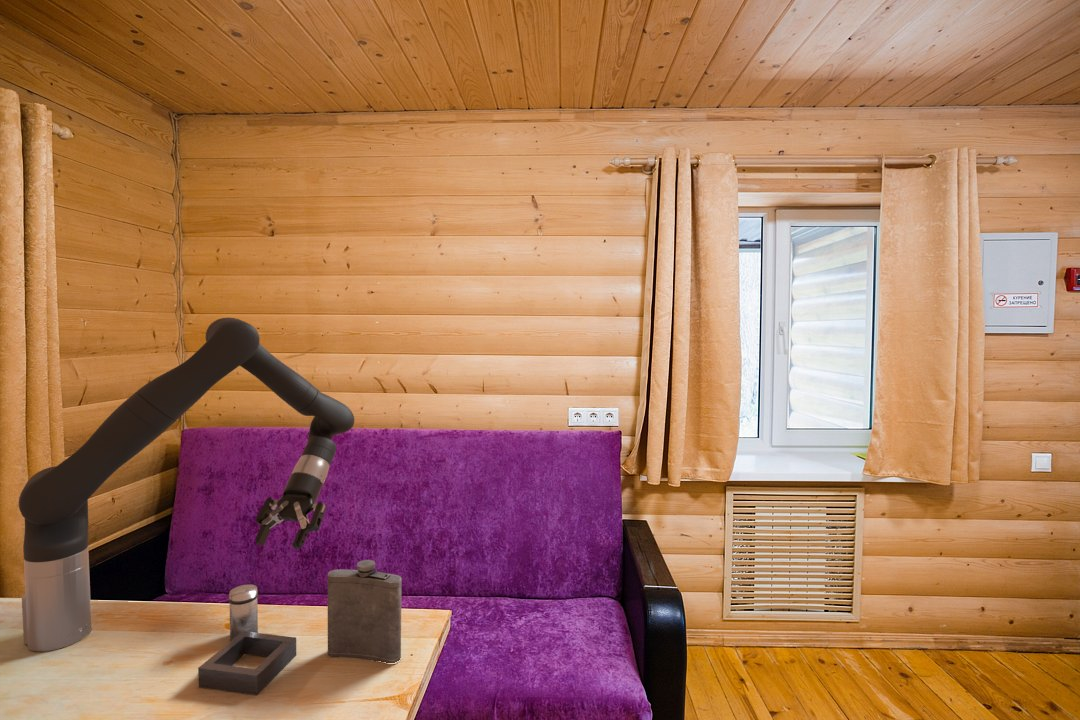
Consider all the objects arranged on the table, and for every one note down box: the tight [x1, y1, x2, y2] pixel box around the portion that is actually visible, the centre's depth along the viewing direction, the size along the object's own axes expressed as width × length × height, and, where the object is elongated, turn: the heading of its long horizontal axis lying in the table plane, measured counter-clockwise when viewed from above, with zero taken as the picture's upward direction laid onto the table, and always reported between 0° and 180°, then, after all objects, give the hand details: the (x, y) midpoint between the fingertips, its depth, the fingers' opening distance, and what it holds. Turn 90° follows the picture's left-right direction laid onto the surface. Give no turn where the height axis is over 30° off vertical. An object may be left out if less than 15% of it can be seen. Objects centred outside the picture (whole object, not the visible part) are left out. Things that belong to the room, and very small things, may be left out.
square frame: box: [197, 631, 297, 696], centre depth 96 cm, size 11×11×4 cm
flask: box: [327, 559, 403, 663], centre depth 101 cm, size 4×14×18 cm, turn 82°
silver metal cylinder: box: [228, 584, 259, 642], centre depth 106 cm, size 5×5×10 cm
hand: (277, 546), depth 116 cm, fingers open, 8 cm apart
